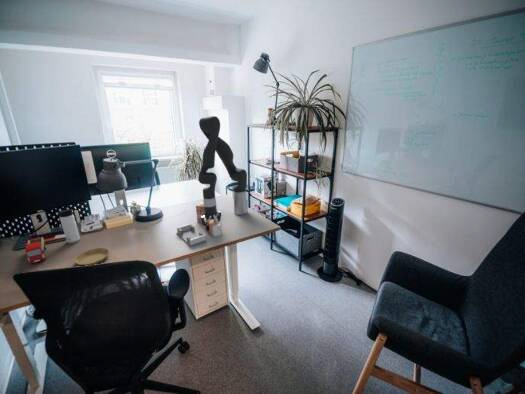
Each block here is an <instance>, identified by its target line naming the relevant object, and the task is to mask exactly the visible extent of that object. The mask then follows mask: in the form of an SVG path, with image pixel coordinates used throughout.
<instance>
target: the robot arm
mask: <svg viewBox="0 0 525 394" xmlns="http://www.w3.org/2000/svg"><path fill="white" fill-rule="evenodd" d="M198 125H199V129H200V130H201V132H202V133H203V136H205V137H206V139H207V140H208V141H207V143H206V145H205V148H204V150H203V152H202V163H201V168H200V171H199V174H198V178H197V179H198V182H199V184H201V185H209V186H207V187H204V188H203V189H202V196H203V197H202V198H203V199H202V200H203V204H204V213H205V214H204V216H202V217H201V216H200V219H201V222H200V223H201V224H202V226H203V225H204V226H206V229H205V230H206V231H207V232H209V222H210V220H214V221H215V222H217V223H218V224H219V222H221V217H222V212H221V211H219V210H218V209H216V207H217V199H216V184H217V180H218V179H217V178H218V177H217V174H216V173H215V172H210V171H209V172H208V170H209V169H210V170H211V169H214V168H215V164H216V163H215V160H216V154H217V155H218V158H220V161H221V162H222V164H223V166H224V167H225V169H226V171H227V173H228V175H229V177H230V179H231V180H232V181H234V182H237V185H234V186H233V187H232V193H233V211H234V214H235V215H236V216H244V215H246V214H247V213H249V208H248V206H249V205H248V202H249V201H248V200H247V187H248V186H247V185H248V173H247V171H246V170H245V169H243V168H239V167H237V166H236V165H235V163H234V152H233V149H232V148H231V146H230V145H229V144H228V142H227V141H225V140H224V139H222V138H221V137H220V131H221V121H220V119H219V117H218V116H217V115H212V116H211V115H209V116H204V117H201V118H200V119H199V120H198ZM205 218H206V220H205V221H204V219H205Z"/></svg>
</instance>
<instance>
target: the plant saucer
mask: <svg viewBox="0 0 525 394" xmlns="http://www.w3.org/2000/svg"><path fill="white" fill-rule="evenodd" d="M109 253H110V250H109V249H108V248H104V247H97V248H92V249H89V250H86V251H84V252H82V253H80V254H79V255H78V256H76V257H75V259H74V263H75V264H77V265H80V266H83V265H90V266H94V265H93V264H95V265H97V264H99V262H100V263H101V262H103V261H105V259H106V258H107V257H108V255H109ZM92 262H93V263H92ZM85 263H86V264H85Z"/></svg>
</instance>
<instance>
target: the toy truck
mask: <svg viewBox="0 0 525 394" xmlns="http://www.w3.org/2000/svg"><path fill="white" fill-rule="evenodd" d="M46 249H47V246H46V244H45V240H44V237H43V236H41V237H38V238H34V239H33V238H32V239H29V240H27V243H26V245H25V250H24V251H25V255H26V258H27V260H28V262H29V264H34V263H38V262H41V261H45V260H46V259H47V258H46V255H45V250H46Z"/></svg>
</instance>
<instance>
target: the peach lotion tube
mask: <svg viewBox="0 0 525 394" xmlns="http://www.w3.org/2000/svg"><path fill="white" fill-rule="evenodd" d="M205 220H206V218H205V219H204V221H205ZM202 226H203V227H202V228H204V229H205V230H206V226H204V225H202ZM208 232H209V233H210V234H212V236H214V237H217V236H220V235H222V224H220V223H219V222H218V223H217V222H215V221H214V220H210V222H209V231H208Z"/></svg>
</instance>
